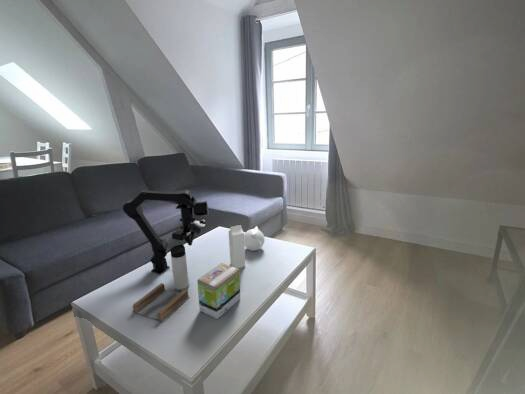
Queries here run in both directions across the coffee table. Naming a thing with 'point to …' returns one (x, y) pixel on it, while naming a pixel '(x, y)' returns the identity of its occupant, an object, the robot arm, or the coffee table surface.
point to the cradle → (160, 303)
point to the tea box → (219, 290)
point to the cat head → (253, 239)
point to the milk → (237, 247)
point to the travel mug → (179, 267)
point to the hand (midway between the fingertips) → (190, 245)
